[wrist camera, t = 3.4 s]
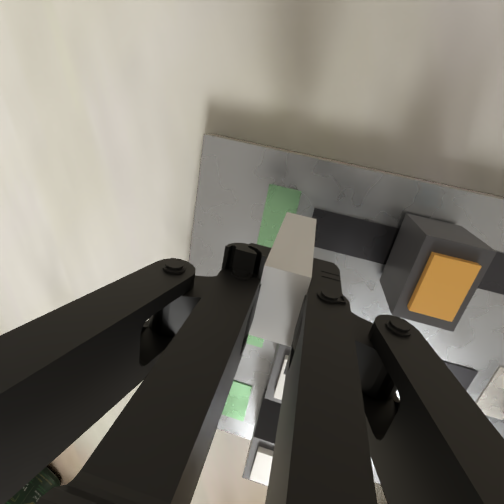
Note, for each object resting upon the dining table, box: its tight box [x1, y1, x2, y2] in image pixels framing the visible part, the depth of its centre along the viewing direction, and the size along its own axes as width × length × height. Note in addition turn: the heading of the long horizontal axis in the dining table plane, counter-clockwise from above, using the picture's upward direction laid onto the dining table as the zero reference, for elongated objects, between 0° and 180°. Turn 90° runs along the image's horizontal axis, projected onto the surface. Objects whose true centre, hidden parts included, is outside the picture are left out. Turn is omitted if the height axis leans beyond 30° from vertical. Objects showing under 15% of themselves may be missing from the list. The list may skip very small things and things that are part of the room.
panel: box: [189, 134, 504, 484], centre depth 23 cm, size 24×28×2 cm
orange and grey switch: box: [379, 213, 497, 332], centre depth 17 cm, size 4×3×4 cm
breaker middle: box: [265, 341, 293, 403], centre depth 20 cm, size 4×3×4 cm
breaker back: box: [242, 392, 281, 486], centre depth 24 cm, size 4×3×4 cm
